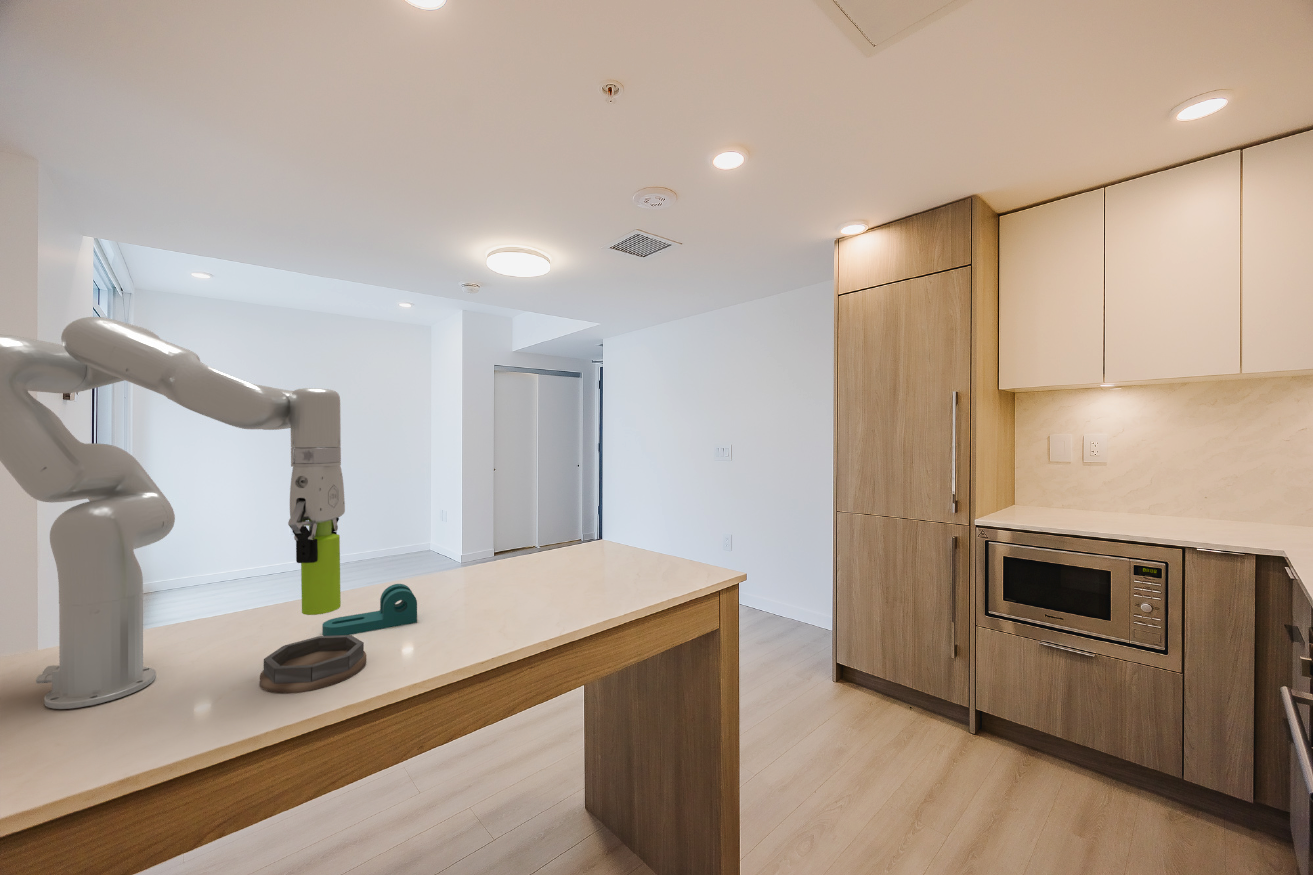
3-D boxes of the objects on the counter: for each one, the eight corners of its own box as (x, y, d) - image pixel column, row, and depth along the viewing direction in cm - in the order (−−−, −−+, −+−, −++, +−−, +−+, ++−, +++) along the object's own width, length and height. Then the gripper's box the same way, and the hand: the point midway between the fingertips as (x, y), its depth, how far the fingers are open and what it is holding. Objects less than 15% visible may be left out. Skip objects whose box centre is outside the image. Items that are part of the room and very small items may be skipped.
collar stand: (236, 695, 85) (236, 672, 85) (293, 654, 101) (293, 635, 101) (341, 690, 87) (341, 668, 87) (380, 650, 102) (380, 632, 102)
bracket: (412, 614, 123) (412, 581, 123) (417, 623, 118) (417, 588, 118) (322, 630, 113) (322, 594, 113) (322, 640, 108) (322, 602, 108)
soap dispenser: (299, 607, 95) (297, 497, 95) (342, 601, 98) (341, 495, 97) (291, 617, 90) (289, 502, 89) (337, 612, 92) (336, 500, 92)
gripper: (312, 460, 85) (313, 569, 85) (360, 455, 102) (361, 546, 103) (263, 460, 84) (264, 571, 85) (319, 455, 102) (320, 547, 102)
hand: (317, 556), depth 94 cm, fingers closed on soap dispenser, 5 cm apart
